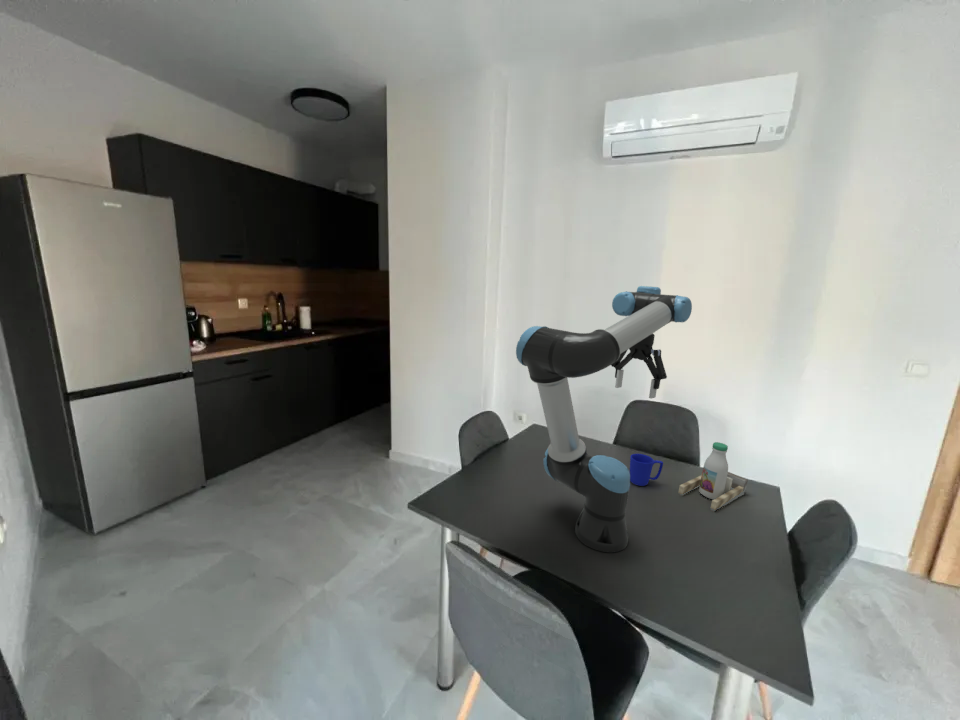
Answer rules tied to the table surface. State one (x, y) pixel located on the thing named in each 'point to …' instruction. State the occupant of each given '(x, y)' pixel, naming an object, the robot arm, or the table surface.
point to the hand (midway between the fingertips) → (634, 392)
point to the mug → (642, 469)
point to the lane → (737, 484)
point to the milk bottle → (715, 472)
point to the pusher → (728, 484)
